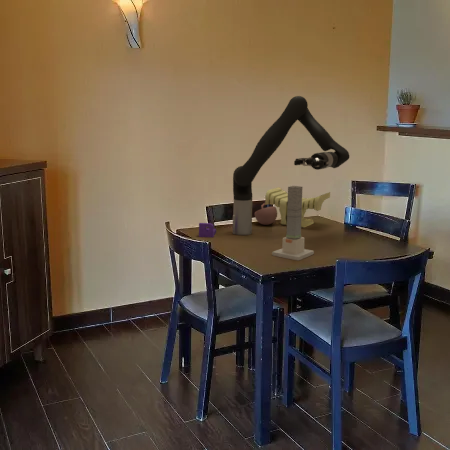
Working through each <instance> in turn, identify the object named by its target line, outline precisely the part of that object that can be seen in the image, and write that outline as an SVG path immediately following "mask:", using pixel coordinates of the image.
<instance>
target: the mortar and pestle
mask: <svg viewBox="0 0 450 450" xmlns="http://www.w3.org/2000/svg"><path fill="white" fill-rule="evenodd" d="M264 206H266V205H265V202H263V203H262V204H260V209H258V210H256V211H255V212H254V218H255V219H256V221H257V223H259V224H260V225H264V226H267V225H272V224H273V223H274V222H275V221H276V220H277V218H278V210H277V206H275V205H274V206H273V205H271V206H267V207H264Z"/></svg>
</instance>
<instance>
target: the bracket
mask: <svg viewBox="0 0 450 450" xmlns="http://www.w3.org/2000/svg"><path fill="white" fill-rule="evenodd" d="M214 226H215V225H214V224H213V223H211V222H199V223H198V238H214V237H215V235H216V233H217V228H215V227H214Z"/></svg>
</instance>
